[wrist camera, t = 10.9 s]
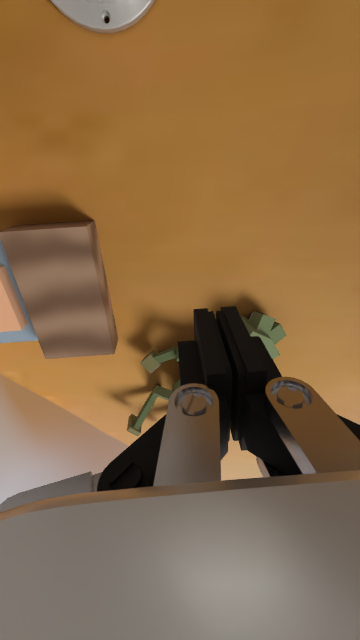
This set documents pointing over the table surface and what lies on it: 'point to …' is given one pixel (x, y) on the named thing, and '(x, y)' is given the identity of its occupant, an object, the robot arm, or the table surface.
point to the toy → (255, 326)
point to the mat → (28, 330)
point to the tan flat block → (9, 305)
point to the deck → (63, 287)
